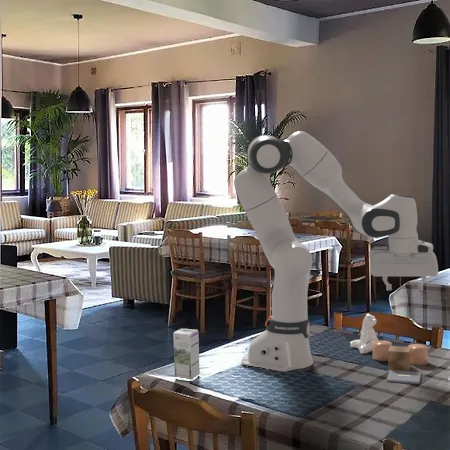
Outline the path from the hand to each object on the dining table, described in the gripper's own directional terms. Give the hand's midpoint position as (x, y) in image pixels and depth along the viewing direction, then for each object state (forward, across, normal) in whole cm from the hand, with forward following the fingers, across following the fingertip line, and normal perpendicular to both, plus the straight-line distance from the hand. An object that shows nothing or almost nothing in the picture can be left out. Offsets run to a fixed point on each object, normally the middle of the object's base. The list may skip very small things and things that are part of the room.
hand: (404, 290), depth 211 cm
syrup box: (+20, -61, -33) cm, 72 cm away
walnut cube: (+22, -2, -9) cm, 24 cm away
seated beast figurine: (+22, -14, +10) cm, 28 cm away
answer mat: (+22, 0, -18) cm, 28 cm away
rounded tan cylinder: (+22, -8, 0) cm, 23 cm away
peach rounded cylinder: (+22, +3, -2) cm, 23 cm away
